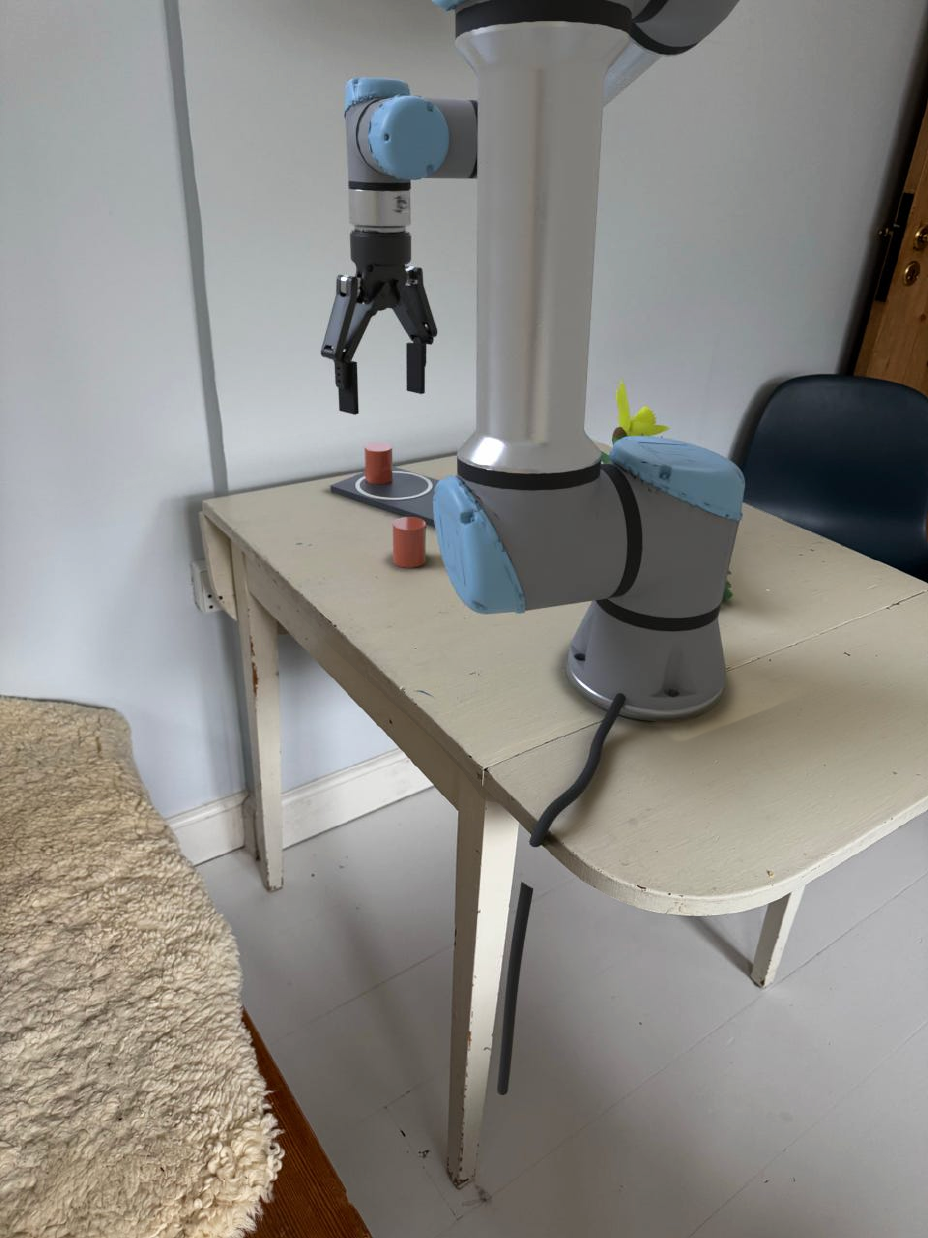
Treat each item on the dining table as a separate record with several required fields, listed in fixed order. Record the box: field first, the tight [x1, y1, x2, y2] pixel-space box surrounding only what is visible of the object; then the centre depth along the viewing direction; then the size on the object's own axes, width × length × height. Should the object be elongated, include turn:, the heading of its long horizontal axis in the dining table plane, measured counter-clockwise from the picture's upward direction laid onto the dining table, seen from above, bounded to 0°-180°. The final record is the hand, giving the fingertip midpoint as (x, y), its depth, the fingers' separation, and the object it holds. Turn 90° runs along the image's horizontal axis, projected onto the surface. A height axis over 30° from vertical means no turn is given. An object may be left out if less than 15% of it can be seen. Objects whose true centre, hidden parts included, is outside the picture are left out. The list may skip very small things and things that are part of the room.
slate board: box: [330, 465, 441, 528], centre depth 120 cm, size 12×24×1 cm, turn 54°
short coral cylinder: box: [364, 442, 394, 484], centre depth 122 cm, size 4×4×5 cm
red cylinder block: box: [392, 516, 427, 569], centre depth 102 cm, size 4×4×5 cm
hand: (383, 401), depth 113 cm, fingers open, 13 cm apart
